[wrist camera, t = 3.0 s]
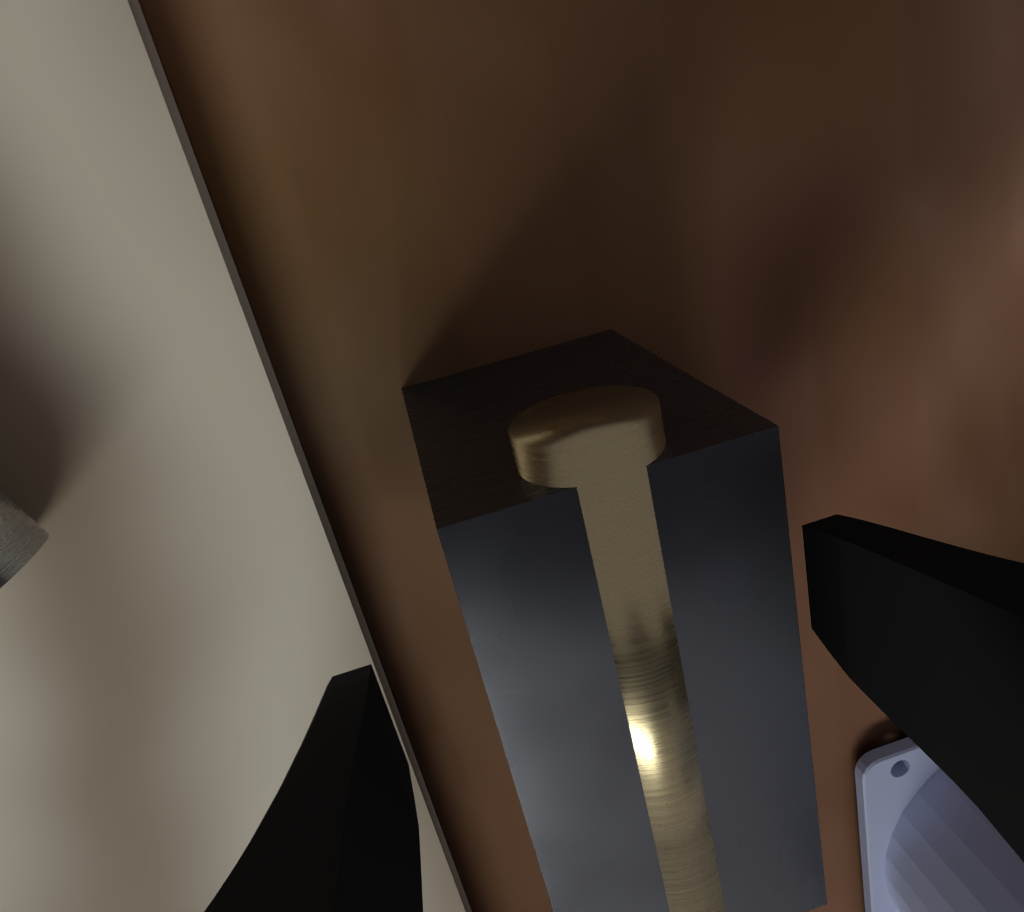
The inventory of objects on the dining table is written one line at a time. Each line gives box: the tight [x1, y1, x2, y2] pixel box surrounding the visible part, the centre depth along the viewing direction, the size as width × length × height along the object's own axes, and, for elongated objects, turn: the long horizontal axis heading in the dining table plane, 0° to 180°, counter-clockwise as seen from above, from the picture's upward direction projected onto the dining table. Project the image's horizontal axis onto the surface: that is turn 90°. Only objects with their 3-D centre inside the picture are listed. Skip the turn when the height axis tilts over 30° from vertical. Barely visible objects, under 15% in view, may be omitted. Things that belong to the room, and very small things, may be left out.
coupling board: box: [0, 0, 472, 912], centre depth 15 cm, size 10×28×1 cm, turn 13°
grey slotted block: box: [402, 330, 827, 912], centre depth 13 cm, size 4×9×6 cm, turn 13°
